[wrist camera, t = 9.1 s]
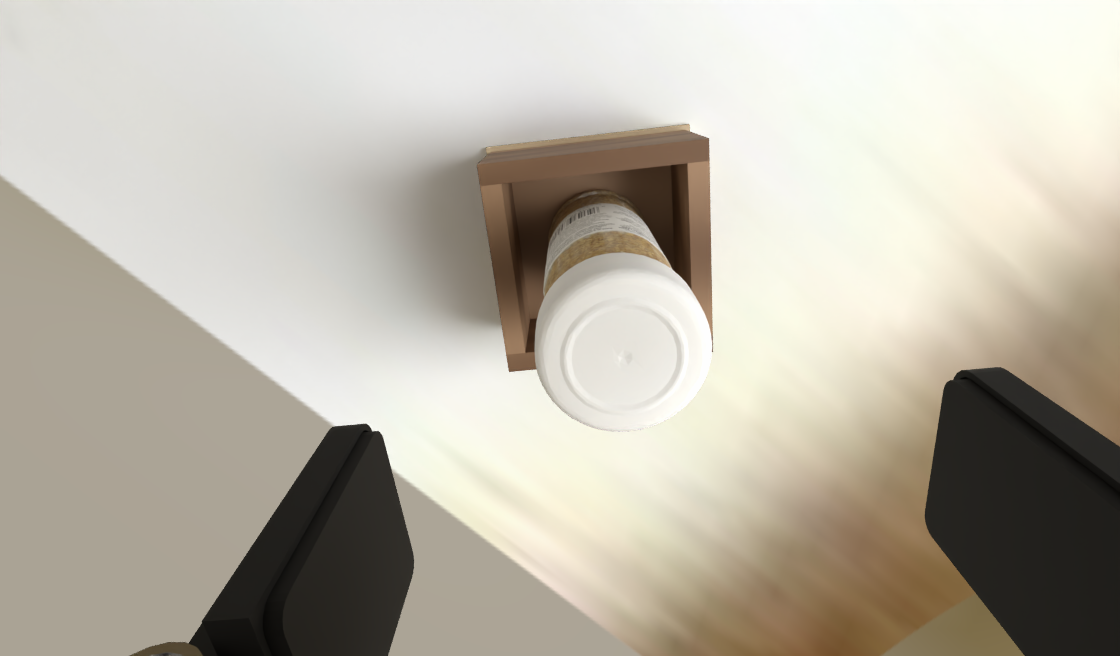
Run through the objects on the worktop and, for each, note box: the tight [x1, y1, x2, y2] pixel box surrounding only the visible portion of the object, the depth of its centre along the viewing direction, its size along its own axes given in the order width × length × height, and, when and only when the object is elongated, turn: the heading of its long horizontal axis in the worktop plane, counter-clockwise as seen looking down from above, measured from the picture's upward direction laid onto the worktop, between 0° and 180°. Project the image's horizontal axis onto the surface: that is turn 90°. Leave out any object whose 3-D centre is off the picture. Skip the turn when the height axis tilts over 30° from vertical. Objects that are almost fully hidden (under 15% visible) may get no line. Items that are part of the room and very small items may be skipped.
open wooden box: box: [477, 124, 713, 372], centre depth 26 cm, size 9×9×5 cm
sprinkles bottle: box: [535, 190, 712, 432], centre depth 21 cm, size 5×5×14 cm
